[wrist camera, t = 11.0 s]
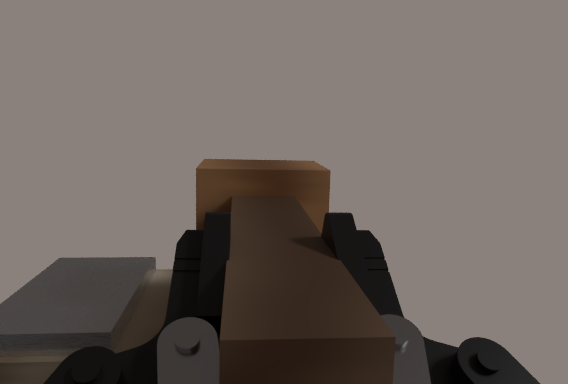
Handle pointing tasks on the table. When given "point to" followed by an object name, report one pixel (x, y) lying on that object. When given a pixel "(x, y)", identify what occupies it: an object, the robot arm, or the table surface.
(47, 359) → the shelf stand
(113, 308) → the grey base plate
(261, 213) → the mallet
